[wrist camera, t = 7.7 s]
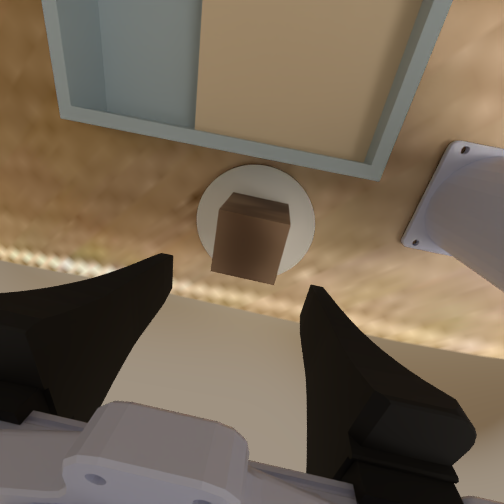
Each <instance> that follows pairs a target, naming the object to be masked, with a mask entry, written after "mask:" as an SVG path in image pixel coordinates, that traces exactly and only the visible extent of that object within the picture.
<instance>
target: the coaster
mask: <svg viewBox="0 0 504 504" xmlns="http://www.w3.org/2000/svg"><path fill="white" fill-rule="evenodd" d="M233 192H235V193H240V194H245V195H249V196H254V197H258V198H263V199H267V200H272V201H277V202H281V203H286V204H289V213H290V222H291V226H290V230H289V233H288V237H287V240H286V244H285V247H284V251H283V255H282V258H281V262H280V265H279V269H278V272H277V275H279V274H281V273H283V272H286V271H287V270H289V269H291V268H292V267H293V266H295V265H296V264H297V263H298V262H299V261H300V260H301V259H302V258H303V257H304V255H305V254H306V253H307V251H308V249H309V247H310V245H311V243H312V240H313V236H314V232H315V215H314V210H313V207H312V204H311V201H310V199H309V197H308V195H307V193H306V192H305V190H304V189H303V187H302V186H301V185H300V184H299V183H298V182H297V181H296V180H295V179H294V178H293V177H291V176H290V175H289V174H287V173H285V172H284V171H282V170H279V169H277V168H274V167H271V166H267V165H260V164H249V165H243V166H239V167H236V168H233V169H231V170H228V171H226V172H225V173H223V174H222V175H220V176H219V177H217V178H216V179H215V180H214V181H213V182H212V183H211V184H210V185H209V186H208V188H207V189H206V191H205V192H204V194H203V196H202V198H201V200H200V203H199V206H198V211H197V229H198V234H199V237H200V240H201V242H202V245H203V246H204V248H205V250H206V251H207V253H208V254H209V255H210V257H211V258H212V257H213V250H214V242H215V235H216V227H217V220H218V212H219V209H220V207H221V206H222V205H223V204H224V203H225V201H226V200H227V199H228V198H229V197H230V196H231V194H232V193H233Z"/></svg>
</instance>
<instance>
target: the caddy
mask: <svg viewBox="0 0 504 504" xmlns="http://www.w3.org/2000/svg"><path fill="white" fill-rule="evenodd" d="M452 1H453V0H42V6H43V13H44V19H45V25H46V31H47V37H48V43H49V50H50V56H51V62H52V68H53V74H54V80H55V87H56V93H57V99H58V105H59V111H60V117H61V118H62V119H67V120H72V121H77V122H82V123H87V124H92V125H97V126H102V127H107V128H112V129H117V130H122V131H127V132H132V133H137V134H142V135H147V136H152V137H157V138H162V139H167V140H172V141H178V142H183V143H188V144H193V145H198V146H203V147H208V148H213V149H218V150H223V151H228V152H233V153H238V154H243V155H248V156H253V157H258V158H263V159H268V160H273V161H278V162H283V163H288V164H293V165H298V166H303V167H308V168H313V169H318V170H323V171H328V172H333V173H338V174H343V175H348V176H353V177H358V178H363V179H368V180H373V181H378V182H379V181H380V179H381V176H382V174H383V171H384V169H385V166H386V164H387V161H388V159H389V157H390V154H391V152H392V149H393V147H394V144H395V142H396V139H397V137H398V134H399V132H400V129H401V127H402V124H403V122H404V120H405V117H406V115H407V112H408V110H409V107H410V105H411V102H412V100H413V97H414V95H415V92H416V90H417V88H418V85H419V83H420V80H421V78H422V75H423V73H424V70H425V68H426V65H427V63H428V60H429V58H430V55H431V53H432V51H433V48H434V46H435V43H436V41H437V38H438V36H439V33H440V31H441V28H442V26H443V23H444V21H445V18H446V16H447V14H448V11H449V9H450V6H451V4H452Z"/></svg>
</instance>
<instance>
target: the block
mask: <svg viewBox="0 0 504 504" xmlns="http://www.w3.org/2000/svg"><path fill="white" fill-rule="evenodd" d="M290 226H291V222H290V213H289V204H286V203H281V202H277V201H272V200H267V199H263V198H258V197H254V196H249V195H245V194H240V193H235V192H233V193H232V194H231V196H230V197H229V198H228V199H227V200H226V201H225V203H224V204H223V205H222V206H221V207H220V209H219V212H218V220H217V227H216V235H215V242H214V250H213V257H212V265H211V271H213V272H217V273H222V274H226V275H231V276H235V277H240V278H244V279H249V280H253V281H258V282H262V283H267V284H271V285H274V283H275V280H276V276H277V272H278V269H279V265H280V262H281V258H282V255H283V251H284V247H285V244H286V240H287V237H288V233H289V230H290Z"/></svg>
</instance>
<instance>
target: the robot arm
mask: <svg viewBox="0 0 504 504" xmlns="http://www.w3.org/2000/svg"><path fill="white" fill-rule="evenodd" d="M464 146H465V148H466V149H465V151H464V153H462V154H461V149H462V148H463V147H464ZM414 240H417V242H416V243H414V244H412V242H413V241H414ZM401 243H402V244H403V245H404V246H405V247H409V248H414V249H419V250H424V251H429V252H434V253H439V254H444V255H449V256H453V257H455V258H456V259H457V260H459V261H460V262H462V263H463V264H465V265H466V266H467V267H469V268H470V269H472V270H473V271H474V272H476V273H477V274H479V275H480V276H482V277H483V278H484V279H486V280H487V281H489V282H490V283H492V284H493V285H494V286H496V287H497V288H499V289H500V290H501V291H503V292H504V149H502V148H496V147H491V146H486V145H481V144H476V143H471V142H466V141H453V142H452V143H450V144H449V145H448V147H447V149H446V151H445V153H444V155H443V157H442V159H441V161H440V163H439V165H438V167H437V169H436V171H435V173H434V175H433V177H432V179H431V181H430V183H429V185H428V187H427V189H426V191H425V193H424V195H423V197H422V199H421V201H420V203H419V205H418V207H417V209H416V211H415V213H414V215H413V217H412V219H411V221H410V223H409V225H408V227H407V229H406V231H405V233H404V235H403V237H402V239H401ZM172 278H173V255H169V254H164V253H160V254H157V255H154V256H152V257H149V258H147V259H145V260H142V261H140V262H137V263H135V264H132V265H130V266H127V267H124V268H121V269H119V270H116V271H113V272H110V273H107V274H104V275H101V276H98V277H94V278H91V279H87V280H83V281H79V282H74V283H69V284H64V285H59V286H54V287H48V288H42V289H35V290H28V291H20V292H9V293H0V504H504V503H502V502H497V501H493V500H489V499H484V498H480V497H475V496H465V497H460V495H459V493H458V491H457V489H456V487H455V485H454V483H458V482H459V480H458V476H457V475H456V472H455V470H454V469H453V467H452V465H453V464H454V463H455V462H456V461H458V460H459V459H460V458H461V457H462V456H463V455H464V454H466V453H467V451H469V450H470V449H471V447H472V446H473V445H474V443H475V439H476V431H475V428H474V426H473V425H472V423H471V422H470V420H469V419H468V417H467V416H466V414H465V413H464V411H463V409H462V408H461V406H460V405H459V403H458V402H457V400H456V399H454V398H452V397H451V396H449V395H447V394H446V393H444V392H442V391H441V390H439V389H437V388H436V387H434V386H433V385H431V384H429V383H428V382H426V381H424V380H423V379H421V378H420V377H418V376H417V375H415V374H414V373H412V372H411V371H409V370H408V369H407V368H405V367H404V366H402V365H401V364H400V363H398V362H397V361H395V360H394V359H393V358H392V357H390V356H389V355H388V354H387V353H385V352H384V351H383V350H381V349H380V348H379V347H378V346H377V345H376V344H375V343H373V342H372V341H371V340H370V339H369V338H368V337H367V336H366V335H365V334H364V333H363V332H361V331H360V330H359V329H358V327H357V326H356V325H355V324H354V323H353V322H352V321H351V320H350V319H349V318H348V317H347V316H346V315H345V313H344V312H343V311H342V310H341V309H340V308H339V306H338V305H337V304H336V303H335V301H334V300H333V299H332V298H331V296H330V295H329V294H328V293H327V292H326V290H325V289H324V288H323V287H320V286H315V285H310V288H309V291H308V294H307V297H306V300H305V303H304V305H303V308H302V311H301V314H300V337H301V345H302V352H303V360H304V368H305V376H306V390H307V391H306V393H307V468H306V473H303V472H298V471H294V470H290V469H285V468H281V467H277V466H272V465H268V464H264V463H259V462H255V461H250V460H248V459H249V450H248V443H247V441H246V440H245V438H244V437H243V436H242V435H241V434H239V433H238V432H237V431H236V430H235V429H234V428H232V427H230V426H227V425H225V424H222V423H220V422H217V421H213V420H209V419H204V418H200V417H196V416H191V415H187V414H182V413H178V412H174V411H169V410H165V409H160V408H156V407H152V406H147V405H143V404H138V403H134V402H124V401H113V402H110V403H108V404H106V405H103V406H101V404H102V403H103V401H104V399H105V397H106V395H107V393H108V391H109V389H110V387H111V385H112V383H113V381H114V380H115V378H116V376H117V374H118V372H119V371H120V369H121V367H122V365H123V363H124V362H125V360H126V358H127V356H128V355H129V353H130V351H131V350H132V348H133V346H134V344H135V343H136V341H137V340H138V339H139V337H140V336H141V334H142V333H143V332H144V330H145V329H146V327H147V326H148V325H149V323H150V322H151V320H152V319H153V318H154V317H155V315H156V314H157V312H158V311H159V310H160V308H161V307H162V305H163V304H164V302H165V301H166V299H167V297H168V295H169V293H170V291H171V289H172ZM100 406H101V407H100Z"/></svg>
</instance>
